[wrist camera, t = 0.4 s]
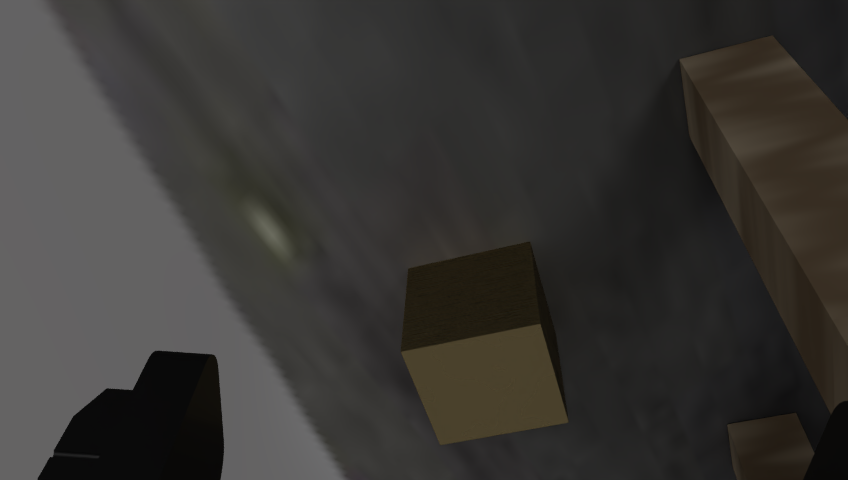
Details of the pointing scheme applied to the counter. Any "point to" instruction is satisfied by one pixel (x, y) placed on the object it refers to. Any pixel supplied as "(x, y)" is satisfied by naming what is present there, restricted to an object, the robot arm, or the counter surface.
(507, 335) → the block
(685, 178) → the counter surface
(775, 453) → the trapdoor frame
